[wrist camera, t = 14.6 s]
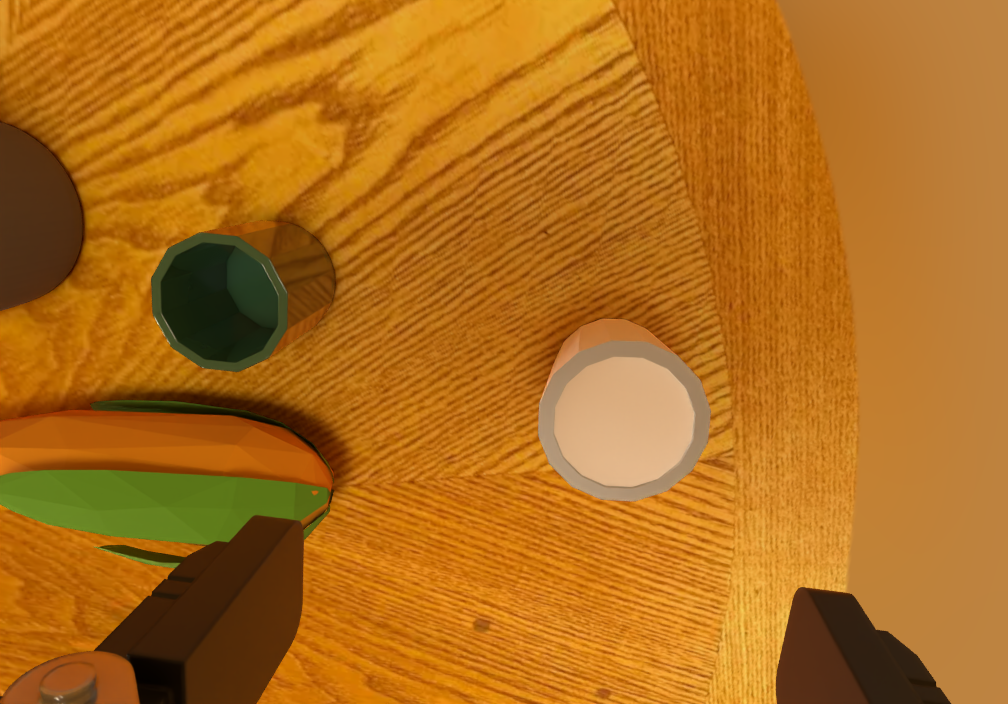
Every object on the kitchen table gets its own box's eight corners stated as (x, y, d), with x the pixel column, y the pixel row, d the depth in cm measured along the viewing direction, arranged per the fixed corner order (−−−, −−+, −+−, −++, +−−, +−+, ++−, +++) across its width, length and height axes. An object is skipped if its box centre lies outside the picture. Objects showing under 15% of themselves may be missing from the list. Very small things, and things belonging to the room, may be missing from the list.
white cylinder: (530, 317, 35) (523, 354, 28) (672, 294, 34) (702, 327, 27) (552, 448, 36) (551, 513, 30) (689, 429, 36) (720, 492, 29)
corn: (302, 616, 31) (-140, 571, 32) (350, 538, 38) (-9, 504, 39) (304, 452, 29) (-158, 411, 30) (354, 404, 37) (-18, 372, 38)
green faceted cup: (337, 226, 34) (288, 241, 28) (333, 339, 36) (286, 377, 29) (222, 215, 34) (148, 226, 28) (224, 327, 36) (153, 363, 30)
